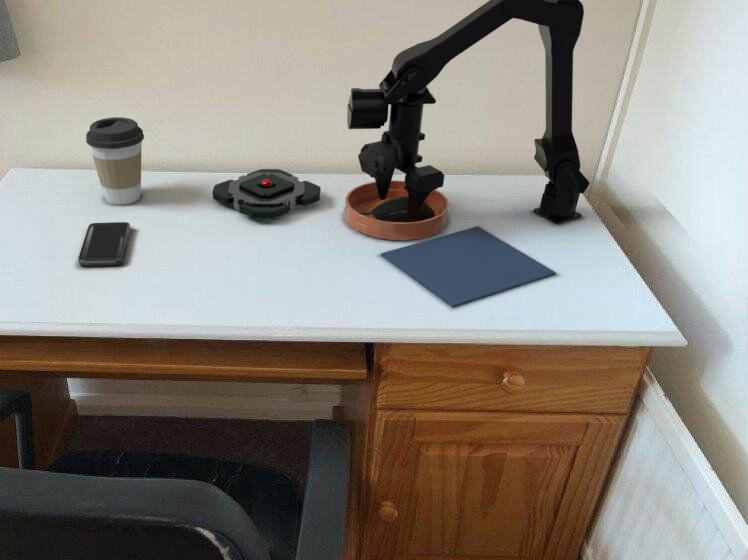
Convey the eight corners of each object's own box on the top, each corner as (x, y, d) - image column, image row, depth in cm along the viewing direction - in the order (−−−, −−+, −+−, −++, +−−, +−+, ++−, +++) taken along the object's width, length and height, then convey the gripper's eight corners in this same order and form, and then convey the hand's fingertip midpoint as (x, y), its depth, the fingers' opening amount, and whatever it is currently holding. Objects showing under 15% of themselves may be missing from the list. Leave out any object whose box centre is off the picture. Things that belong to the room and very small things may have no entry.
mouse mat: (477, 228, 145) (477, 226, 145) (555, 274, 131) (556, 272, 131) (380, 255, 137) (380, 253, 137) (452, 307, 123) (452, 305, 123)
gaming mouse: (357, 207, 152) (358, 188, 150) (433, 211, 150) (436, 192, 148) (356, 222, 147) (357, 202, 145) (434, 226, 146) (437, 206, 143)
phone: (77, 261, 135) (89, 222, 147) (78, 267, 135) (90, 228, 147) (122, 260, 135) (131, 221, 147) (123, 265, 136) (131, 227, 147)
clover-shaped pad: (204, 200, 157) (203, 178, 154) (270, 176, 166) (270, 155, 163) (262, 229, 146) (261, 207, 143) (329, 202, 155) (330, 180, 152)
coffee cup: (121, 182, 165) (112, 111, 156) (162, 194, 159) (155, 122, 150) (83, 201, 158) (71, 128, 148) (123, 214, 152) (114, 139, 143)
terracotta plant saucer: (406, 190, 159) (407, 173, 157) (467, 226, 146) (470, 209, 143) (325, 209, 152) (326, 192, 150) (382, 250, 139) (384, 232, 137)
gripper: (338, 119, 142) (334, 199, 152) (398, 152, 129) (390, 237, 138) (388, 109, 146) (381, 187, 156) (451, 140, 133) (439, 223, 142)
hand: (396, 208), depth 148 cm, fingers open, 9 cm apart
